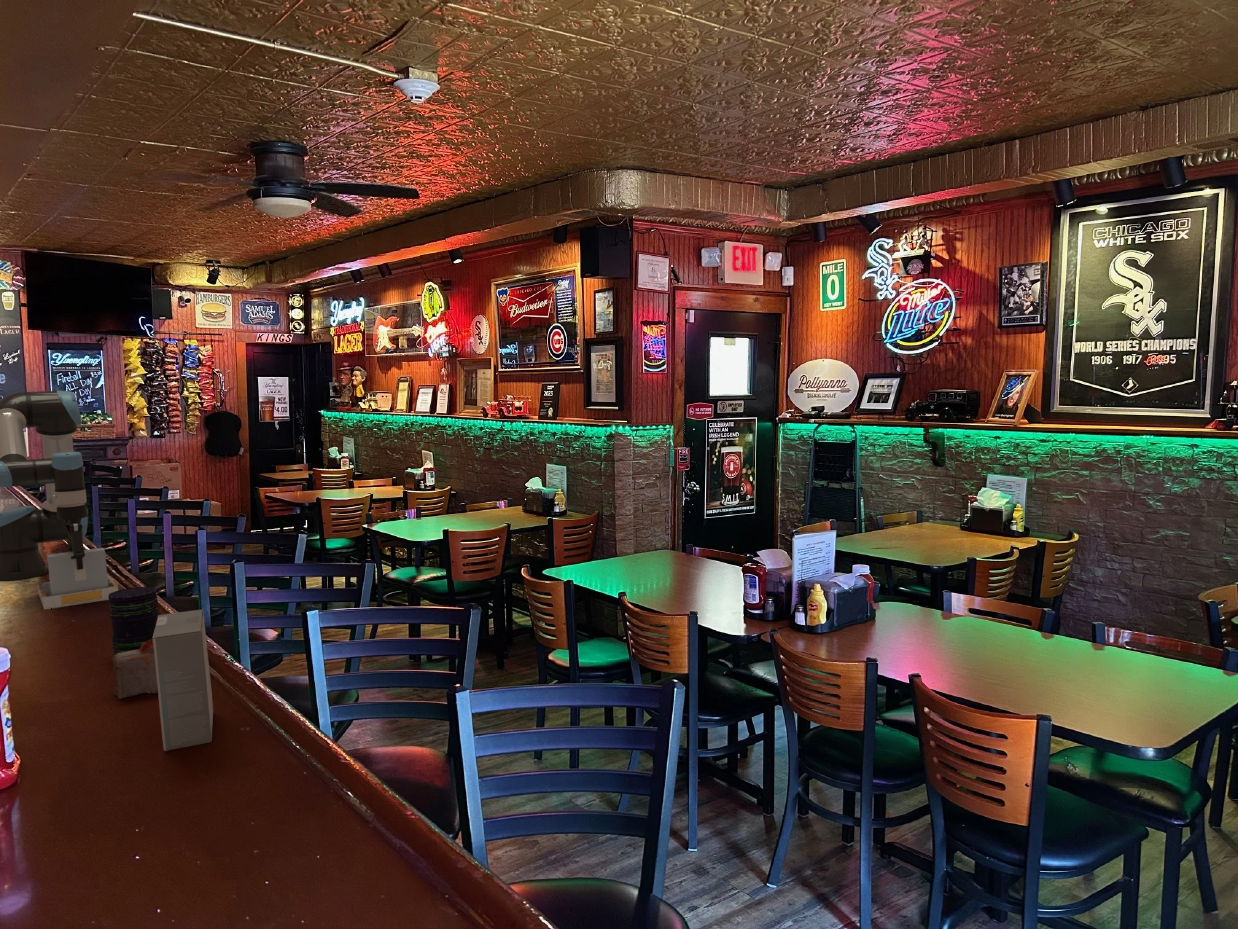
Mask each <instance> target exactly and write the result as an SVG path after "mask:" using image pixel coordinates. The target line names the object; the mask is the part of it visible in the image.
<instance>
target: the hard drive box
mask: <svg viewBox="0 0 1238 929" xmlns="http://www.w3.org/2000/svg"><path fill="white" fill-rule="evenodd" d="M157 615H158V614H157ZM205 622H206V621H205V612H204V610H203V609H196V610H187V611H179V612H173V613H165V614H159V615H158V619H157V622H156V627H155V631H154V635H153V638H152V639H153V646H154V656H155V666H156V676H157V686H158V692H157V694H158V704H159V706H158V707H159V716H160V728H161V736H162V737H161V738H162V745H163V746H162V748H163V751H165V752H168V751H172V750H176V749H182V748H187V747H193V746H198V745H203V744H208V743H212V738H213V719H214V704H213V693H212V684H211V683H212V682H211V672H210V663H209V654H208V645H207V643H208V642H207V636H206V634H207V633H206V623H205Z"/></svg>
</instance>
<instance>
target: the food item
mask: <svg viewBox="0 0 1238 929" xmlns="http://www.w3.org/2000/svg"><path fill="white" fill-rule="evenodd" d="M111 662H112V670H113V673H112V674H113V682H112V683H113V692H114V695H115V696H116V697H117V698H118V699H119V700H122V699H126V698H131V697H136V696H139V694H140V695H143V693H144V694H151V693H153V694H158V686H157V676H156V666H155V656H154V646H153V641H152V642H150V641H148V642H144V643H143V644H140V649H138V650H133V651H128V652H123V653H118V654H116V655H113V656H112V657H111Z"/></svg>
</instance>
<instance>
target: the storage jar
mask: <svg viewBox="0 0 1238 929" xmlns="http://www.w3.org/2000/svg"><path fill="white" fill-rule="evenodd" d="M157 591H158V590H157V588H156V587H151V586H139V587H132V588H131V587H130V588H124V589H118V591H115V592H112V593H110V594H109V595H108V599H109V600H108V612H109V619H110V620H111V626H112V636H111V642H112V643H111V648H112V650H113V651H112V652H113V656H115V655H116V654H118V653H123V652H128V651H133V650H138V649H140V644H143V643H144V642H148V641H150V642H152V641H153V639H152V638H153V635H154V631H155V627H156V622H157V619H158V614H159V609H160V608H159V600H158V595H157Z"/></svg>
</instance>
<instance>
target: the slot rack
mask: <svg viewBox="0 0 1238 929" xmlns="http://www.w3.org/2000/svg"><path fill="white" fill-rule="evenodd" d="M107 579H108V588H101V589H95V590H88V591H81V592H74V593H68V594H61V595H54V596H51V589H50V581H47V582H46V581H45V582H40V583H37V592H38V597H39V599H40V603H41V605H42V608H43V610H50V609H51V608H52V609H59V608H64V607H70V606H78V605H83V604H90V603H95V602H103V601H109V599H108V595H109V594H110V593H112V592H115V591H119V585H118V584H117V583H116V582H115V581H114V580H113V579H112V578H111V576H110V575H109V573H107ZM52 609H51V610H52Z"/></svg>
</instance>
